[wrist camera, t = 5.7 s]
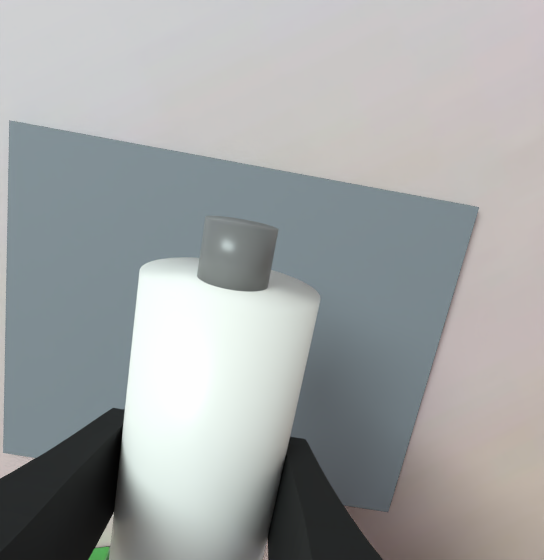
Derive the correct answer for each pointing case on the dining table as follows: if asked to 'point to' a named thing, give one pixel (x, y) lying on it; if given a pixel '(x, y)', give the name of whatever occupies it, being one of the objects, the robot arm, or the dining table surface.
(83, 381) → the mat
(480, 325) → the dining table surface
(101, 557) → the ink box
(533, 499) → the dining table surface
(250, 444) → the bottle
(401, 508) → the dining table surface
